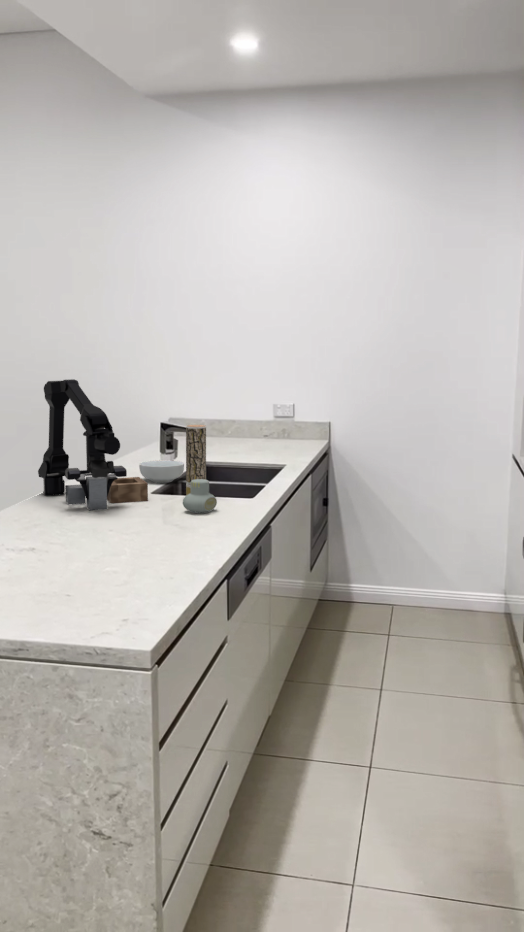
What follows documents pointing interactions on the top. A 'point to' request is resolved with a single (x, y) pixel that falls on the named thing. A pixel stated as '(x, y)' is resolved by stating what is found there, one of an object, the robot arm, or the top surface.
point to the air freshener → (199, 497)
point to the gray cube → (74, 494)
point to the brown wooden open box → (128, 490)
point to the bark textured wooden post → (195, 454)
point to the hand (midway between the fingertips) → (96, 498)
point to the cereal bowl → (161, 470)
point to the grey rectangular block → (96, 493)
